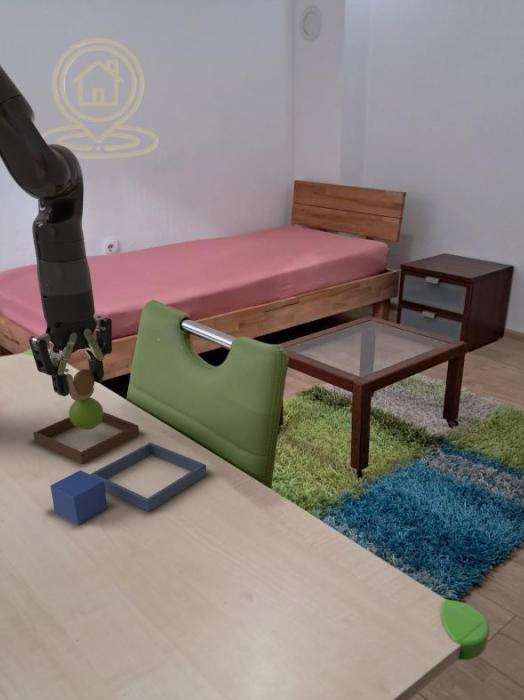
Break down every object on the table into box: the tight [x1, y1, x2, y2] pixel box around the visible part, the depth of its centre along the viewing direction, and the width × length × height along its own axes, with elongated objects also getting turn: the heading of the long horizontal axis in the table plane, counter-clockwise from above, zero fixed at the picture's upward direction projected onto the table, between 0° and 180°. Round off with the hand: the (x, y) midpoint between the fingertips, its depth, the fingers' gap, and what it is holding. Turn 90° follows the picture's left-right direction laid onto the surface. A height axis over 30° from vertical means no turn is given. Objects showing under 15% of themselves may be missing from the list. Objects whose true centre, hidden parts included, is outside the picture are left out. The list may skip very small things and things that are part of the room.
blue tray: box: [90, 442, 207, 513], centre depth 95 cm, size 12×12×2 cm
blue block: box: [50, 469, 108, 526], centre depth 87 cm, size 5×5×5 cm
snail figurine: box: [64, 368, 104, 431], centre depth 103 cm, size 5×6×12 cm
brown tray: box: [32, 411, 140, 465], centre depth 106 cm, size 12×12×2 cm
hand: (80, 387), depth 103 cm, fingers closed on snail figurine, 6 cm apart
